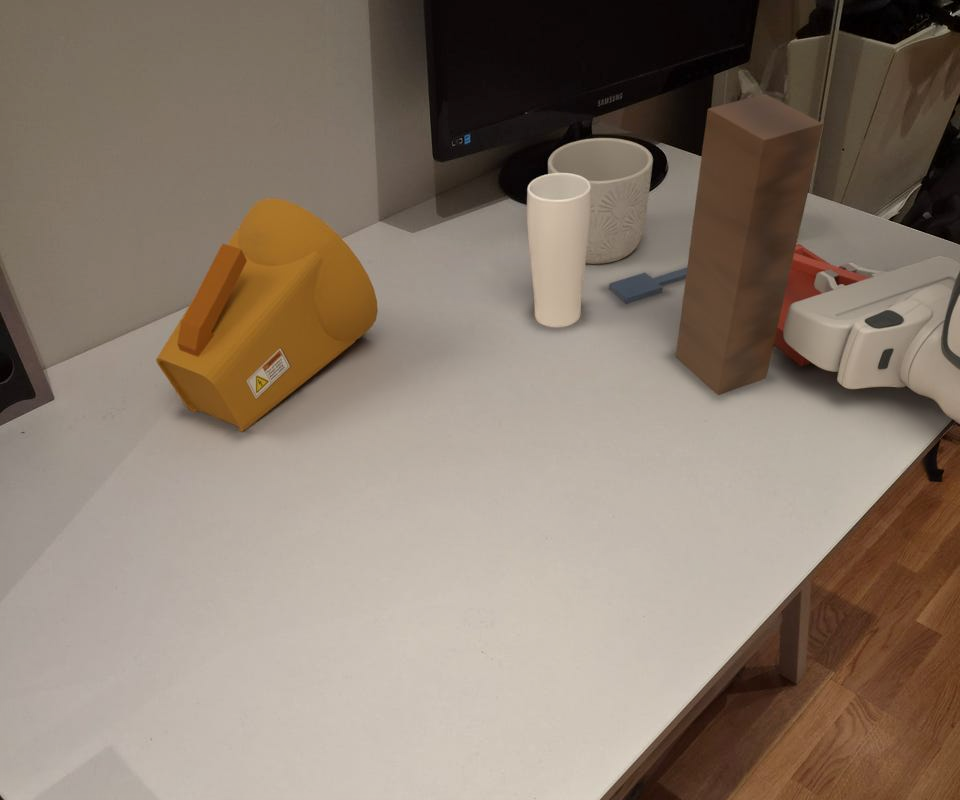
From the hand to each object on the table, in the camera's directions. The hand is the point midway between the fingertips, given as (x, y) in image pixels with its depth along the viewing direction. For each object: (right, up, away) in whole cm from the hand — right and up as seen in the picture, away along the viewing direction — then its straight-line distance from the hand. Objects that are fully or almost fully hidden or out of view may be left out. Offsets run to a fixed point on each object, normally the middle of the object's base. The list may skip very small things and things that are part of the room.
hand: (831, 273), depth 92 cm
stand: (-12, -10, +1) cm, 15 cm away
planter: (-22, +11, +19) cm, 32 cm away
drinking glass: (-28, -1, +10) cm, 30 cm away
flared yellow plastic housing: (-60, -10, +5) cm, 61 cm away
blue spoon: (-13, +5, +13) cm, 19 cm away
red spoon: (-1, +1, +2) cm, 3 cm away
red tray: (-1, -2, +7) cm, 7 cm away
